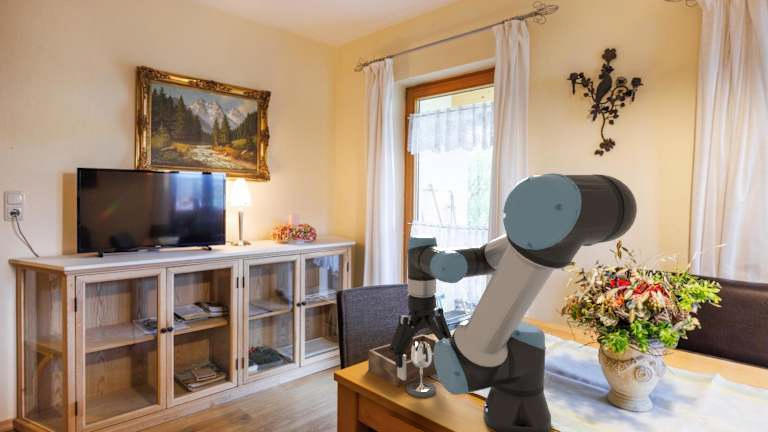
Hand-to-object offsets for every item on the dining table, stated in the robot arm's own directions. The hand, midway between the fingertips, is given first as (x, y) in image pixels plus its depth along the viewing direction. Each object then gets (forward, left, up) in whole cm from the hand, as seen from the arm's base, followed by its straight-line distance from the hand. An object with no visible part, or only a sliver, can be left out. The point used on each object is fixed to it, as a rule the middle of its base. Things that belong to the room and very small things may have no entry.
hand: (421, 371), depth 116 cm
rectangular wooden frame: (+12, -7, -5) cm, 15 cm away
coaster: (0, 0, -5) cm, 5 cm away
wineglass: (0, 0, -5) cm, 5 cm away
